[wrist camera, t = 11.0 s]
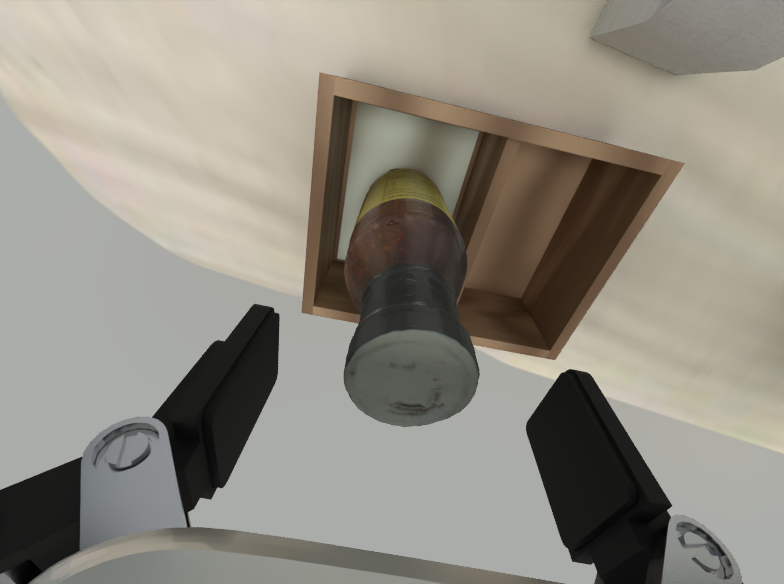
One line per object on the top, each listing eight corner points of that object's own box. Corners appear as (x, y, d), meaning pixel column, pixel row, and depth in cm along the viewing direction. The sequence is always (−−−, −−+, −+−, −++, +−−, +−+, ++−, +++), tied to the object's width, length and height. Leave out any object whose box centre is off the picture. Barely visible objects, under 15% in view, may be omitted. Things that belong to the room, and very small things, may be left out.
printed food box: (674, 74, 22) (843, 65, 14) (588, 37, 21) (712, 2, 13) (719, 7, 20) (947, -54, 12) (626, -37, 19) (801, -137, 11)
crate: (606, 143, 24) (684, 163, 18) (523, 303, 32) (555, 360, 25) (345, 78, 23) (319, 72, 16) (324, 263, 31) (301, 312, 24)
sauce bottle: (412, 251, 29) (423, 479, 12) (351, 213, 27) (264, 416, 10) (459, 189, 26) (563, 376, 9) (394, 143, 24) (370, 264, 7)
